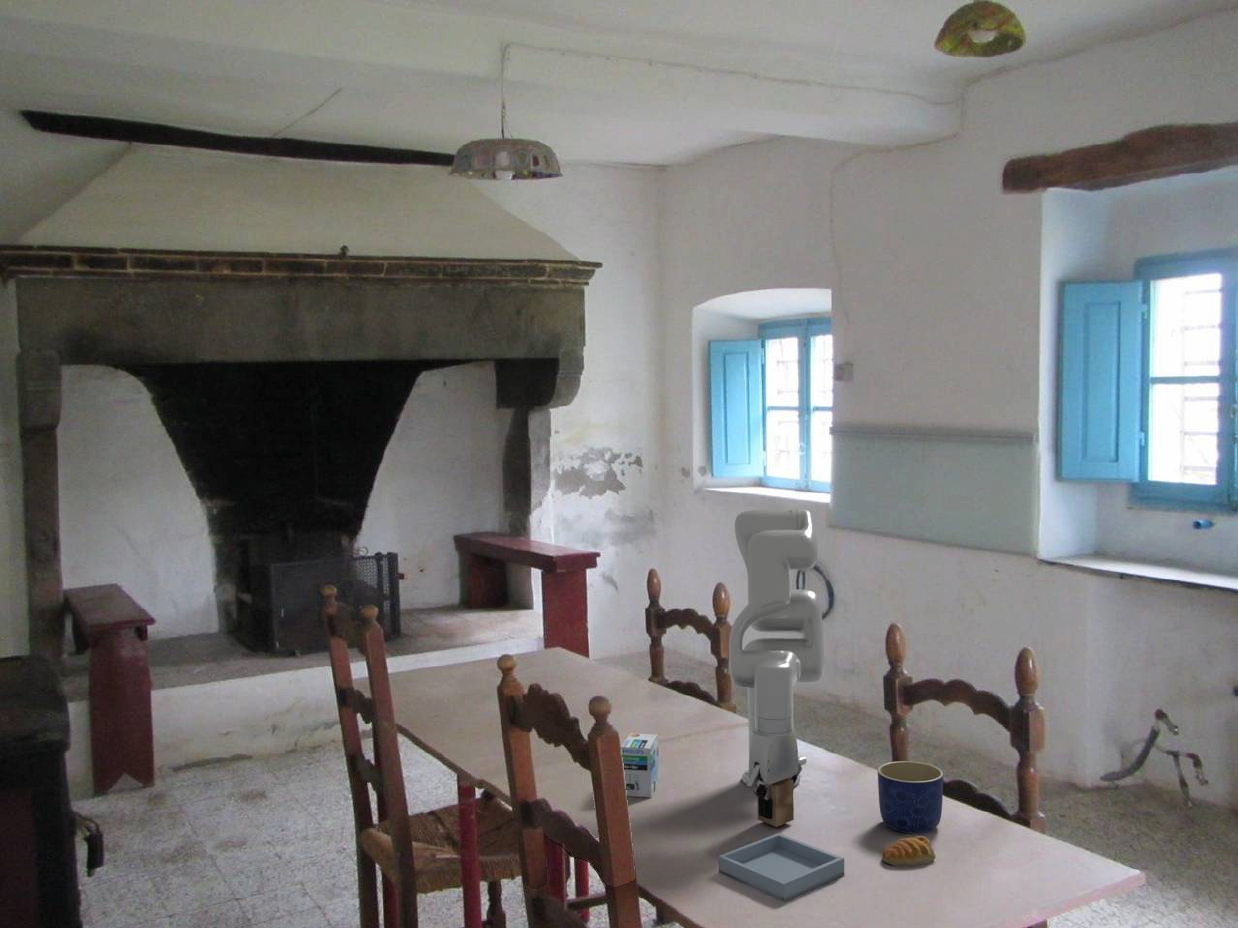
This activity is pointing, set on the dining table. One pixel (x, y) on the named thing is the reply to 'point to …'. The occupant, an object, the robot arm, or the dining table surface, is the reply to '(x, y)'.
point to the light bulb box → (641, 764)
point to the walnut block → (780, 803)
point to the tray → (781, 866)
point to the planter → (910, 796)
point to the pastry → (909, 852)
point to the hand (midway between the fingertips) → (775, 812)
